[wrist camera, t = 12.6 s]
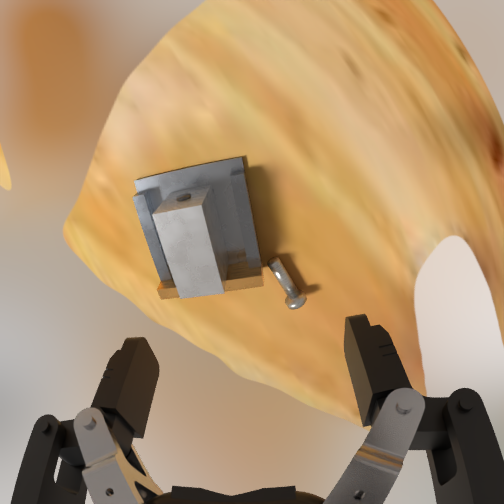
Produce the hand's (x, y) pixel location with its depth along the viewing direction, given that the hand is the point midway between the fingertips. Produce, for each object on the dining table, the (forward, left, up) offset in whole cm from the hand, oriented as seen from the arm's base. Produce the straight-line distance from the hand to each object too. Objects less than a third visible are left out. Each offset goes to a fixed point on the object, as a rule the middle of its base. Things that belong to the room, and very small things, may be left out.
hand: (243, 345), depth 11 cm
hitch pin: (+13, +2, -25) cm, 29 cm away
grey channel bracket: (+5, -7, -25) cm, 27 cm away
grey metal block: (+5, -7, -25) cm, 26 cm away
